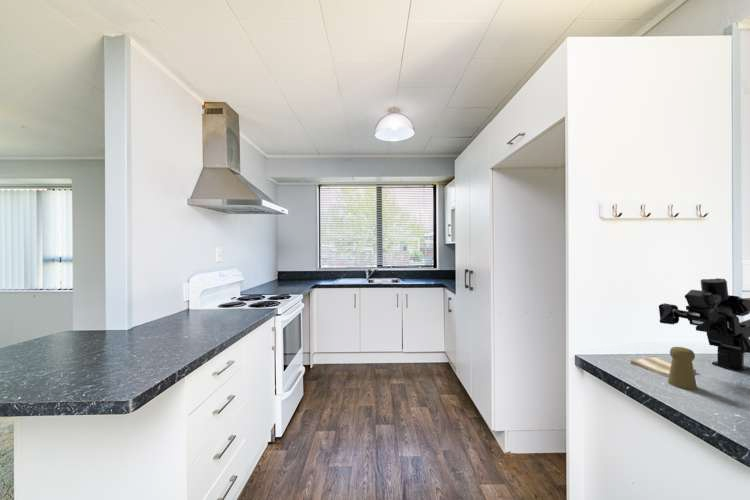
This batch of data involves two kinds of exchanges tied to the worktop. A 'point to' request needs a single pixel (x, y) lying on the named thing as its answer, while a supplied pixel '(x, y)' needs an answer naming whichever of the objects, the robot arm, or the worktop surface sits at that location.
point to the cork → (682, 368)
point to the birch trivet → (655, 365)
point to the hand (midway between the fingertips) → (677, 324)
